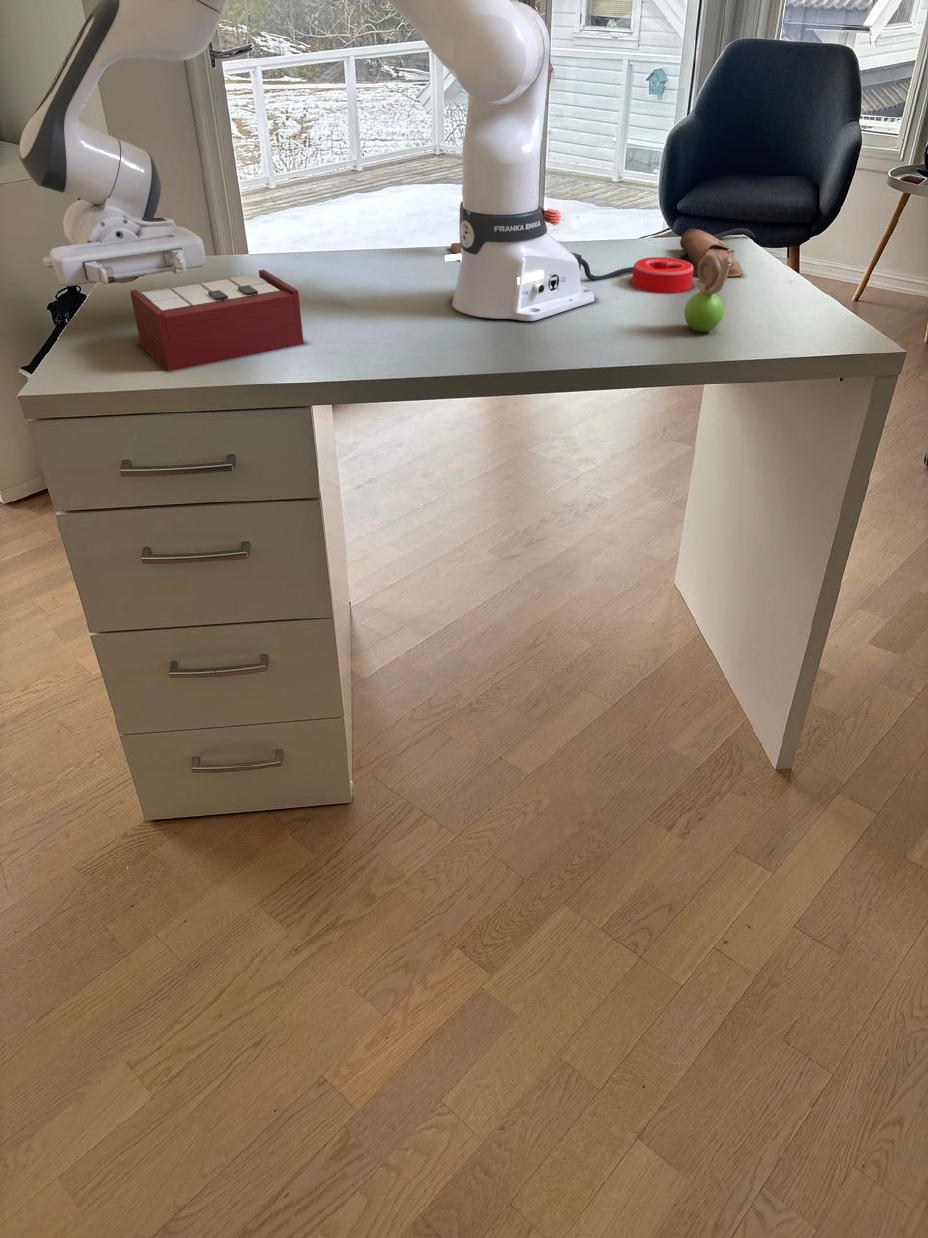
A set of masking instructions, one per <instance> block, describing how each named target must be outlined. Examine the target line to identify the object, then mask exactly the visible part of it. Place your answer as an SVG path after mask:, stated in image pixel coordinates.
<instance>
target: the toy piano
mask: <svg viewBox="0 0 928 1238" xmlns="http://www.w3.org/2000/svg"><path fill="white" fill-rule="evenodd" d="M258 276H259V277H260V278H262V279H263V280H265V281H267V283H265V284H259V285H253V286H249V285H247V286H240V287H238V286H236V285H235V284H233V283H232V282H230V279H229V280H228V279H227V278H226V279H220V280H214V281H207V282H202V283H201V284H199V283H193V284H188V285H182V286H176V287H171V291H173V292H174V293H175V294H177V295H178V296H179V298H174V299H168V300H162V301H156V302H152V303H151V302H149V301H148V300H147V299H146V298H145V297H144V296H142V295H141V292H139V291H138V290H137V289H131V290H130V291H129V292H130V297H131V303H132V307H133V312H134V318H135V321H136V322H135V323H136V327H137V331H138V337H139V342H140V345H141V347H143V348H144V349H145V350H146V351H147V352H148V353H149V354H150V355H151V356H152V357H153V358H154V359H155V360H156V361H157V362H158V363H159V364H160V365H161V366H162V367H163V368H165V369H166V371H168V372H171V371H172V372H173V371H176V370H182V369H187V368H191V367H196V366H202V365H207V364H212V363H216V362H221V361H226V360H231V359H237V358H241V357H247V356H250V355H256V354H261V353H266V352H271V351H276V350H282V349H286V348H291V347H296V346H302V345H304V343H305V342H304V334H303V333H304V332H303V323H302V315H301V305H300V304H301V303H300V295H299V294H300V293H299V290H298V289H297V288H296V287H293V286H292V285H290V284H289V283H287V282H285V281H283V280H282V279H280V278H278V277H277V276H276V275H273V274H272V273H271V272H269V271H267V270H266V269H259V270H258Z"/></svg>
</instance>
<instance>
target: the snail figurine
mask: <svg viewBox="0 0 928 1238" xmlns="http://www.w3.org/2000/svg"><path fill="white" fill-rule="evenodd" d="M735 251H736V250H735V249H734V248H731V249H728V250H727V253H728V256H729V253H730V252H731V253H732V254H733V255H734V253H735ZM731 259H732V257H731V258H729V257H725V258H723V260H722V267H721V266H720V263H719V261H718V259H717V258H716V257H715V256H713V255H705V256H703V257H702V258H701V260H700V261H699V264H698V268H697V270H696V273H697V277H698V279H696V280H695V285H696V288H697V289H698V291H700V292H697V293H695V294H693V295H692V296H691V297H690V298H689V299H688V300H687V302H686V304H685V307H684V313H683V314H684V319H685V322H686V324H687V325H688V327H690V329H692V330H694V331H697V332H701V333H703V332H705V333H706V332H709V331H712V330H713V329H715V328H716V327H717V326H718V325H719V324H720V323H721V321H722V319H723V317H724V313H725V312H724V311H725V308H724V303H723V301H722V299H721V297H720V296H719V295H717V293H719V292H720V291H721V290H722V289H723V287H724V286H725V283H726V281H727V278H728V277H727V275H728V272H729V268H730V266H731V264H732V260H731Z"/></svg>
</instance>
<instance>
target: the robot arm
mask: <svg viewBox="0 0 928 1238" xmlns="http://www.w3.org/2000/svg"><path fill="white" fill-rule="evenodd" d="M386 1H387V2H388V3H389V4H390V5H391V6H392V7H393V8H394V9H395V10H396V11H397V12H398V13H399V14H400V15H401V16H402V17H403V18H404V19H405V20H406V21H407V22H408V23H409V24H410V25H411V27H412V28H413V29H414V30H415V31H416V32H417V34H418V35H419V36H420V37H421V39H422V40H423V41H424V43H425V44H426V45H427V46H428V48H429V49H430V51H432V53H433V54H434V55H435V56H436V58H437V59H438V60H439V61H440V63H441V64H442V65H443V66H444V67H445V68H446V69H447V71H449V73H450V74H451V75H452V76H453V77H454V79H455V80H456V81H457V82H458V84H460V86H461V87H462V89H463V90H464V91H465V92H466V93H467V94H468V98H467V109H466V110H467V111H466V121H465V129H464V137H463V142H462V187H463V196H462V201H463V205H462V206H461V207H460V206H459V230H458V231H459V243H460V244H461V254H455V253H454V254H447V255H444V260H445V262H450V261H459V260H460V261H459V267H458V268H459V269H458V275H457V282H456V287H455V291H454V293H453V294H454V295H453V298H452V301H451V305H452V308H453V309H454V310H457V311H458V312H460V313H462V314H465V315H468V316H473V317H478V318H484V319H497V320H498V319H501V320H502V319H506V320H507V319H508V320H517V321H523V322H536V321H538V320H542V319H544V318H547V317H550V316H554V315H557V314H560V313H563V312H566V311H570V310H572V309H576V308H578V307H582V306H585V305H588V304H591V303H593V302H595V294H594V292H593V291H592V289H590V288H589V287H587V286H585V285H582V283H581V269H582V268H581V267H583V270H584V275H585V277H586V278H587V279H588V280H589V281H591V282H592V281H593V282H596V281H603V280H608V279H612V278H616V277H618V276H621V275H624V274H629V273H633V268H634V266H631V267H630V266H629V267H624V268H620V269H618V270H615V271H612V272H609V273H607V274H604V275H594V274H592V273H591V269H590V264H589V263H588V262H587V261H586V260H585V259H584V258H582V254H579V253H575V252H572V251H570V250H568V249H567V248H566V246H564V245H562V243H560V242H559V241H558V240H557V239H556V238H555V237H553V235H552V234H550V233H549V232H548V228H547V224H546V223H548V224H551V225H553V226H556V225H558V224H560V221H561V218H562V213H561V211H560V210H557V209H553V208H551V207H549V208H547V209H546V210H545V208H544V207H542V206H540V205H539V201H540V200H539V197H540V196H539V195H540V173H541V153H542V141H543V130H544V120H545V113H546V111H545V109H546V100H547V90H548V78H549V67H550V66H549V63H550V51H551V50H550V48H551V44H550V35H549V31H548V28H547V25H546V23H545V21H544V19H543V17H542V16H541V15H540V14H539V13H538V12H537V10H536V9H534V8H533V7H532V6H530V5H528V4H526V3H525V2H521V1H517V0H386ZM227 2H228V0H100V1H99V2H98V3H97V4H96V5H95V6H94V7H93V9H92V11H91V12H90V13H89V15H88V17H87V18H86V20H85V22H84V23H83V25H82V27H81V29H80V30H79V32H78V34H77V36H76V37H75V39H74V41H73V43H72V45H71V47H70V49H69V51H68V53H67V55H66V56H65V58H64V59H63V62H62V64H61V66H60V67H59V70H58V71H57V73H56V75H55V77H54V79H53V81H52V83H51V85H50V87H49V88H48V90H47V91H46V94H45V95H44V97H43V99H42V101H40V104H39V105H38V106H37V108H36V110H34V112H33V114H32V116H30V117H31V118H30V119H29V121H27V123H26V124H25V127H24V129H23V130H22V133H21V137H20V141H19V151H18V156H19V160H20V162H21V164H22V166H23V168H24V169H25V171H26V172H27V174H28V175H29V177H30V178H31V179H32V181H33V182H34V183H35V184H36V186H40V187H42V188H45V189H48V190H52V191H56V192H58V193H64V194H68V195H70V196H71V197H74V198H77V199H78V200H76V201H74V202H72V204H70V205H69V207H68V208H67V209H66V211H65V213H64V215H63V223H62V225H63V231H64V235H65V238H66V240H67V243H68V245H62V246H56V247H53V248H52V249H51V250H50V251H49V256H45V257H43V258H42V263H43V265H44V266H45V267H46V268H48V269H53V273H54V276H55V279H56V282H57V284H59V286H63V287H74V286H81V285H88V284H94V283H102V284H103V285H109V284H115V283H116V284H127V283H131V282H133V281H134V282H135V280H138V279H139V278H141V277H144V276H149V275H155V274H161V273H168V272H173V273H174V274H175V275H176V274H182V273H183V274H184V273H187V270H188V269H195V268H201V267H204V266H205V265H206V262H207V258H206V257H207V256H206V250H205V246H204V241H203V239H202V238H201V237H200V236H199V235H197V234H196V233H195V232H193V231H191V230H189V229H188V228H186V227H184V226H179V225H176V223H175V221H174V219H173V218H170V217H155V214H156V212H157V209H158V207H159V203H160V198H161V191H162V184H161V183H162V182H161V178H160V174H159V170H158V168H157V165H156V163H155V160H154V159H153V157H152V156H151V154H150V153H149V152H148V151H146V150H144V149H142V148H140V147H137V146H135V145H133V144H131V143H130V142H128V141H125V140H122V139H120V138H117V137H115V136H113V135H110V134H107V133H105V132H104V131H101V130H99V129H96V128H94V127H92V126H90V125H88V124H86V123H83V122H82V121H80V119H79V118H80V115H81V114H82V112H83V110H84V108H85V107H86V104H87V103H88V100H89V99H90V97H91V96H92V94H93V91H94V90H95V88H96V87H97V84H98V82H99V80H100V79H101V77H102V75H103V73H104V72H105V71H106V69H108V67H109V66H111V65H113V64H114V63H116V62H120V61H123V60H135V59H136V60H150V61H157V62H168V63H170V62H171V63H174V62H183V61H187V60H191V59H193V58H196V57H197V56H199V55H200V54H202V53H203V52H204V51H206V50H207V48H208V47H209V45H210V43H211V42H212V40H213V38H214V36H215V34H216V32H217V30H218V27H219V24H220V21H221V18H222V16H223V13H224V10H225V8H226V4H227ZM735 234H736V235H737V234H745V235H747V236H748V237H749V238H751V239H755V238H756V235H755V233H754V232H753V231H751V230H750V229H748V228H743V227H741V228H732V229H728V230H726V231H722V232H719V233H715V234H713V235H712V234H711V235H712V236H714V237H715V238H717V239H719V240H720V239H721V238H726V237H727V236H731V235H735ZM688 258H689V256H688V255H687V253H686V252H685V253H682V254H681V255H679V256H677V257H676V258H675V259H680V260H684V261H685V260H686V259H688Z"/></svg>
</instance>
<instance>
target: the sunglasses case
mask: <svg viewBox="0 0 928 1238" xmlns="http://www.w3.org/2000/svg"><path fill="white" fill-rule="evenodd" d="M679 245H680V247H681V249H682V250H683V251H684V252H685V253H687V255H688V256H689V257H688V258H689V260H690V262H691V264H692V265H693V268H694V269H695V270H696V271H697V268H698V264H699V261H700V260H701V258H702V257H703V256H705V255H713V256H715V257H716V258H717V259H718V261H719V263H720V266H721V267H722V260H723V258H725V257H729V258H731V257H732V259H731V260H732V264H731V266H730V268H729V272H728V275H727V278H732V277H733V278H734V277H741V276H744V272H743V269H742V267H741V265H740V264H739V262H738V260H737V259H736V257H735V255H734V253H733V254H732V253H731V252H730V253H729V256H728V253H727V250H728V249H730V247H729V246H728V244H726V243H725V242H724V241H722V240H721V239H720V238H719V239H717V238H715V237H714V236H712V234H710V233H708V232H707V231H704V230H701V229H697V228H688V229H687V230H686V231H684V233H683V234H682V235H681V237H680V241H679ZM730 250H731V249H730Z"/></svg>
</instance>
